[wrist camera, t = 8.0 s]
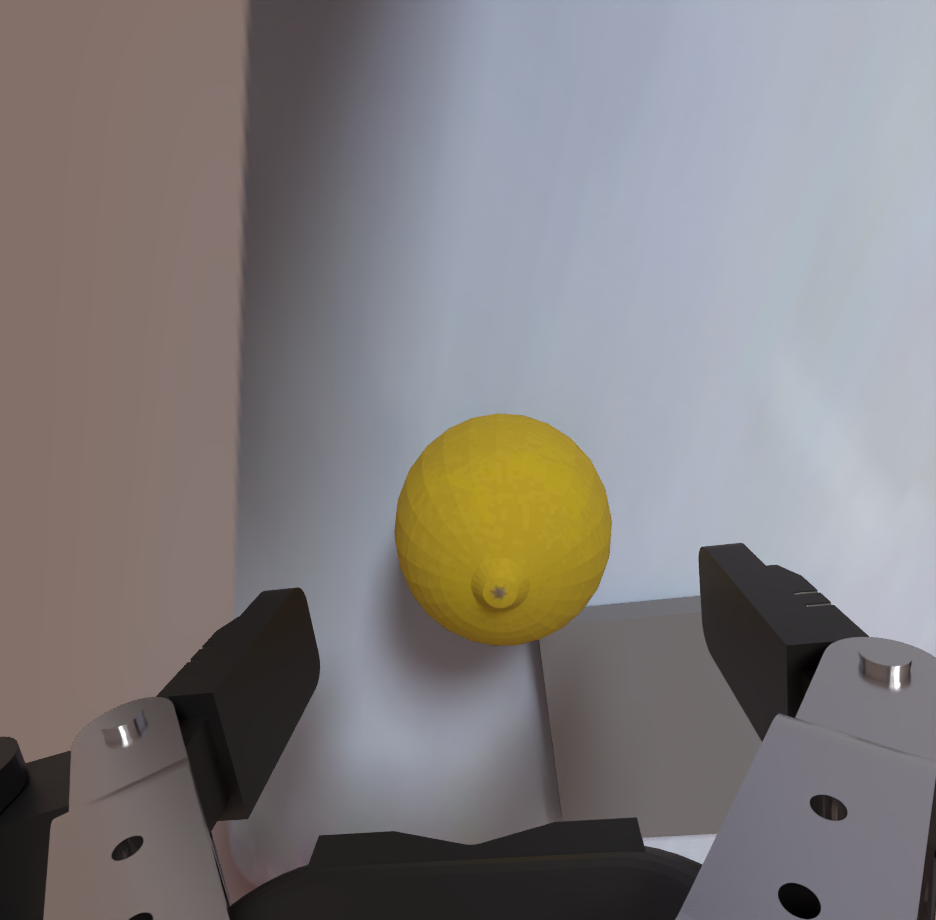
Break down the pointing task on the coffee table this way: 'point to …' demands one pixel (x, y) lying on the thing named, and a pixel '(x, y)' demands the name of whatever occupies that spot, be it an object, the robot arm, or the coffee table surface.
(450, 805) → the coffee table surface
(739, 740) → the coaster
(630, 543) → the coffee table surface
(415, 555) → the lemon
